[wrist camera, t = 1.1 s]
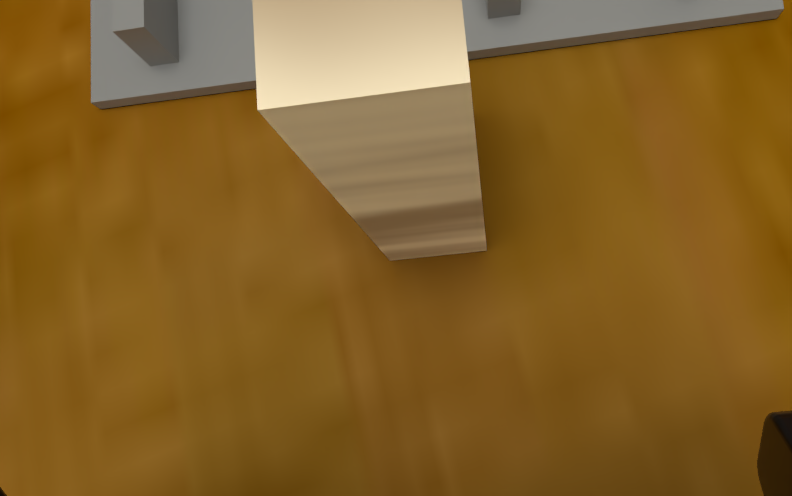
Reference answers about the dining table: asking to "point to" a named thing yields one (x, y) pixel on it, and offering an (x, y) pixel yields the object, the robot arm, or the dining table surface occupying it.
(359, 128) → the birch block
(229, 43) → the slotted rack
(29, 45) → the dining table surface
